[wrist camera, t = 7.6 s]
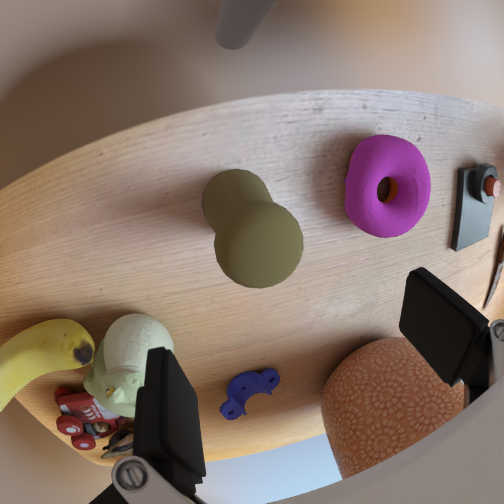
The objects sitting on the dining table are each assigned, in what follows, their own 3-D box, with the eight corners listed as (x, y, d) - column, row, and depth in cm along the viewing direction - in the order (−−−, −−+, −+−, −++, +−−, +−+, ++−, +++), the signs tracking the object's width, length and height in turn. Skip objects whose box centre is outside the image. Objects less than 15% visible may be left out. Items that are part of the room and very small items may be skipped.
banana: (65, 285, 29) (77, 326, 19) (89, 319, 32) (114, 369, 22) (-45, 382, 16) (-56, 444, 6) (-19, 409, 18) (-19, 473, 9)
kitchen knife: (494, 302, 44) (485, 313, 43) (489, 299, 46) (480, 309, 45) (516, 222, 34) (509, 230, 33) (510, 219, 35) (503, 226, 34)
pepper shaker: (275, 222, 26) (325, 283, 16) (214, 242, 26) (229, 317, 16) (259, 160, 23) (308, 188, 13) (192, 181, 23) (191, 225, 13)
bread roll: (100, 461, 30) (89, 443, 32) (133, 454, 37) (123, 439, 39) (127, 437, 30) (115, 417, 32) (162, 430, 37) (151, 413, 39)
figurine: (197, 320, 29) (202, 394, 20) (151, 398, 34) (149, 457, 25) (109, 285, 25) (81, 354, 16) (85, 374, 30) (70, 433, 21)
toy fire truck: (83, 456, 28) (138, 446, 33) (47, 419, 23) (113, 408, 28) (76, 424, 33) (127, 414, 38) (46, 381, 28) (105, 371, 33)
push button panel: (458, 163, 27) (474, 169, 25) (490, 160, 28) (504, 165, 25) (450, 248, 33) (464, 257, 30) (483, 234, 34) (495, 241, 31)
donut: (346, 123, 23) (373, 125, 19) (418, 147, 25) (447, 155, 21) (326, 224, 27) (348, 242, 23) (398, 231, 29) (423, 247, 25)
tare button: (484, 176, 26) (493, 180, 24) (492, 175, 26) (501, 178, 25) (483, 194, 27) (492, 198, 26) (491, 192, 27) (499, 196, 26)
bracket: (216, 409, 30) (207, 397, 32) (232, 424, 32) (223, 414, 34) (272, 364, 34) (261, 355, 36) (283, 383, 36) (272, 375, 38)
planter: (416, 293, 35) (499, 379, 18) (410, 367, 45) (459, 434, 28) (289, 361, 35) (342, 486, 18) (317, 417, 45) (352, 498, 28)
